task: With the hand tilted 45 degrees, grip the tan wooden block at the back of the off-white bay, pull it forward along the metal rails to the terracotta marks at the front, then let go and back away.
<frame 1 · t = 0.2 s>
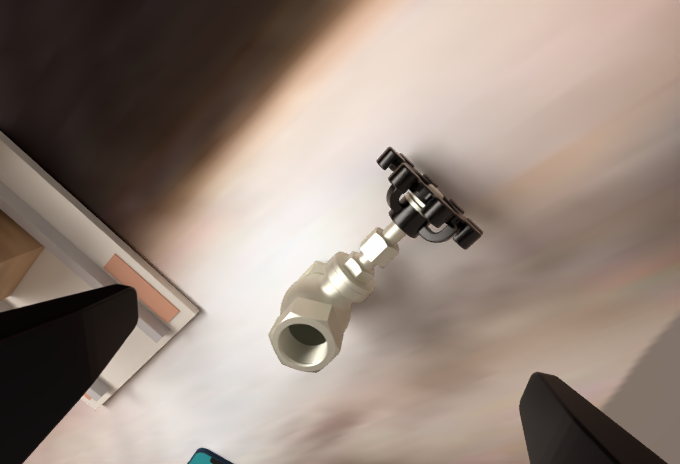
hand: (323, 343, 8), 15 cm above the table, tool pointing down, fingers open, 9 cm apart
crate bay: (54, 284, 27), on the table
valve: (363, 245, 23), on the table
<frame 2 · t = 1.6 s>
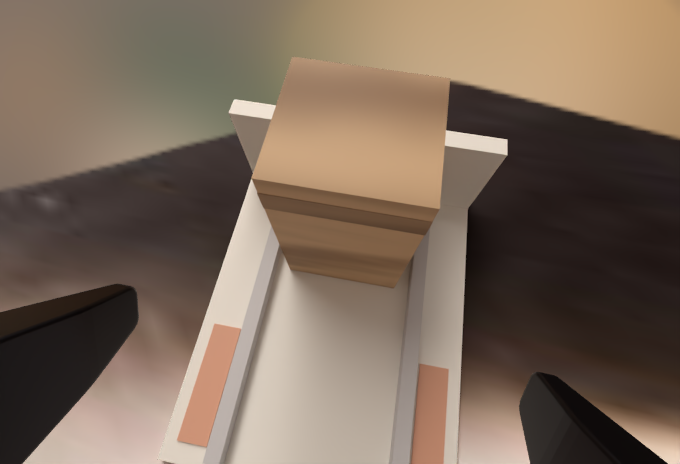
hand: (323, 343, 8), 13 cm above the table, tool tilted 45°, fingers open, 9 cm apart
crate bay: (336, 309, 21), on the table
tan wooden block: (352, 194, 18), point 6 cm above the table, slide at 0.0 cm
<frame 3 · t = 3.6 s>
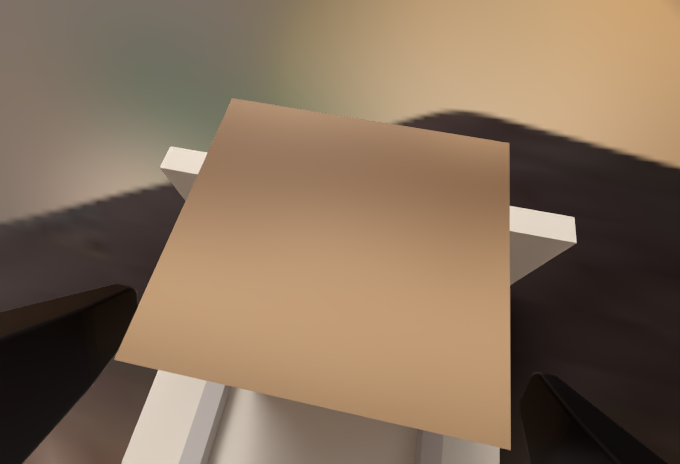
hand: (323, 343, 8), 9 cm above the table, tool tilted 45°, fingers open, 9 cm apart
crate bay: (315, 443, 15), on the table
tan wooden block: (339, 301, 12), point 6 cm above the table, slide at 0.0 cm
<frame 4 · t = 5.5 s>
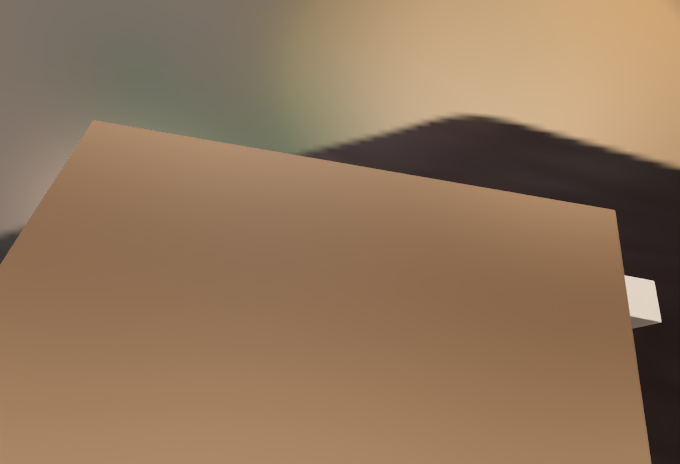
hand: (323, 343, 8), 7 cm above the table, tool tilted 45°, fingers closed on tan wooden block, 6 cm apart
tan wooden block: (311, 410, 8), point 6 cm above the table, slide at 0.0 cm, touching gripper
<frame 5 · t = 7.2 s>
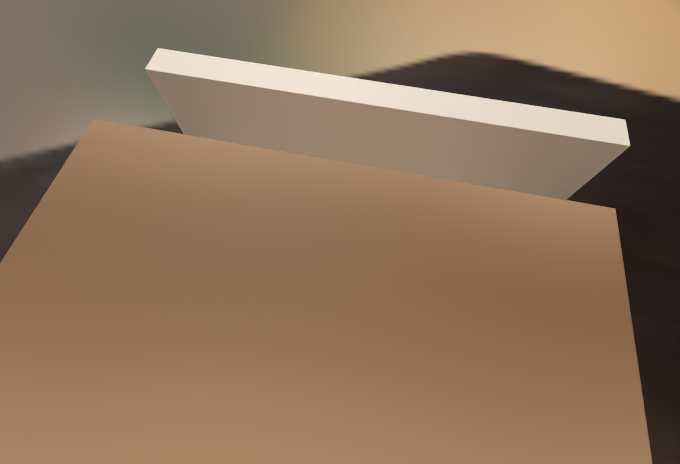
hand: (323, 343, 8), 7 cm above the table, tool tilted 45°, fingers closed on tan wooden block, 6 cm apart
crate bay: (323, 393, 13), on the table
tan wooden block: (311, 409, 8), point 6 cm above the table, slide at 5.1 cm, touching gripper
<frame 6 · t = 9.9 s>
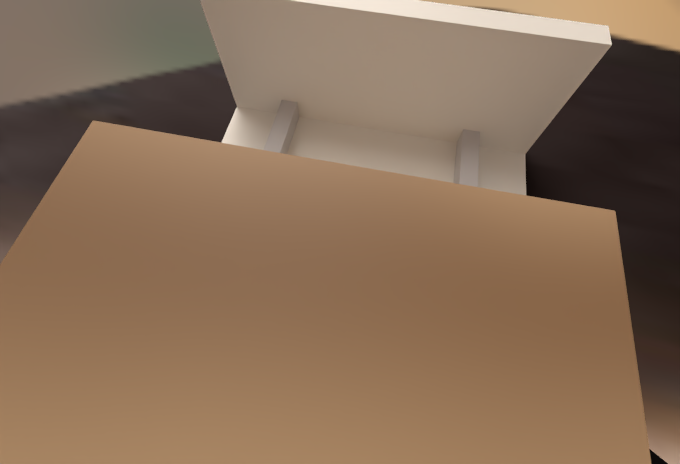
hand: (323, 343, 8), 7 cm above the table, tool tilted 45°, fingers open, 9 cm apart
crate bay: (345, 284, 15), on the table
tan wooden block: (310, 410, 8), point 6 cm above the table, slide at 9.5 cm
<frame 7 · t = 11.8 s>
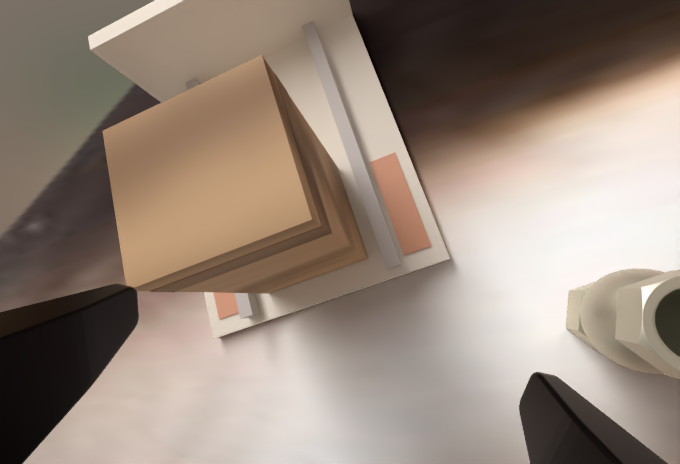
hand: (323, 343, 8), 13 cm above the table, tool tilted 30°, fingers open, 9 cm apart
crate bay: (287, 166, 23), on the table
tan wooden block: (266, 209, 16), point 6 cm above the table, slide at 9.5 cm
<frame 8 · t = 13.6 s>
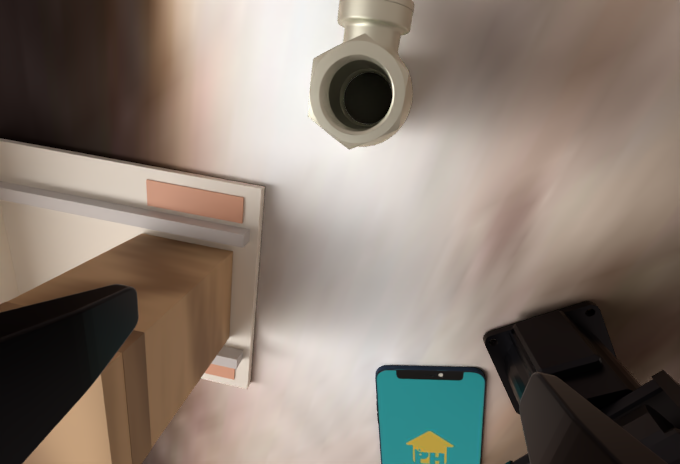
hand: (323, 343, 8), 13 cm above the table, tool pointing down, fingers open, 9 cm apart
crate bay: (127, 269, 24), on the table
tan wooden block: (131, 336, 18), point 6 cm above the table, slide at 9.5 cm
smartphone: (428, 442, 26), on the table
valve: (380, 14, 17), on the table
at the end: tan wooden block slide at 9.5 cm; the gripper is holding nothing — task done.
